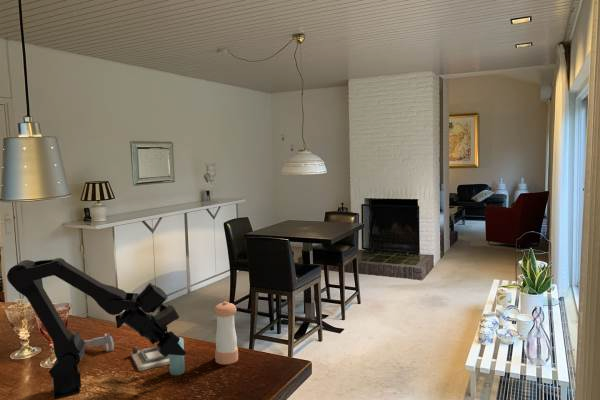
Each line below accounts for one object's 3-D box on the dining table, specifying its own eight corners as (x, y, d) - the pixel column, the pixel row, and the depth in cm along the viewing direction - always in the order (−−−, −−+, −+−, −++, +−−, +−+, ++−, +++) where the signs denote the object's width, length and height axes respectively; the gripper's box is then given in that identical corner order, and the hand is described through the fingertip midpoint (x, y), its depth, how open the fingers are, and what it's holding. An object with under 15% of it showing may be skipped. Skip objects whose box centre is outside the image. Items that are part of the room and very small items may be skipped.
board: (138, 371, 143) (138, 361, 142) (130, 355, 154) (130, 346, 154) (184, 360, 150) (183, 351, 149) (173, 345, 161) (172, 337, 161)
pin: (172, 376, 139) (170, 344, 138) (168, 370, 143) (166, 339, 142) (186, 372, 141) (185, 341, 140) (182, 367, 145) (181, 336, 144)
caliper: (114, 350, 158) (113, 333, 158) (112, 352, 157) (111, 334, 156) (60, 346, 162) (59, 329, 161) (58, 348, 161) (57, 330, 160)
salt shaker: (222, 366, 145) (220, 307, 143) (211, 358, 151) (209, 301, 149) (242, 359, 150) (241, 301, 148) (230, 352, 155) (229, 296, 153)
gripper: (171, 308, 130) (209, 337, 137) (151, 291, 145) (187, 318, 152) (143, 342, 126) (184, 370, 134) (127, 321, 142) (164, 347, 149)
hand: (180, 349), depth 142 cm, fingers open, 7 cm apart
